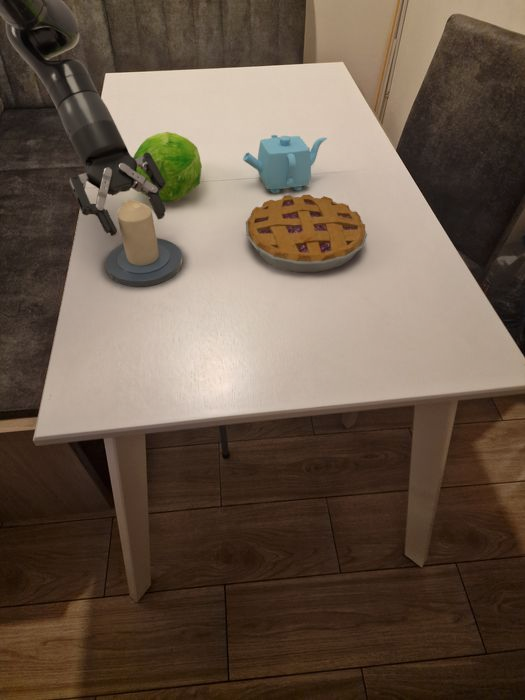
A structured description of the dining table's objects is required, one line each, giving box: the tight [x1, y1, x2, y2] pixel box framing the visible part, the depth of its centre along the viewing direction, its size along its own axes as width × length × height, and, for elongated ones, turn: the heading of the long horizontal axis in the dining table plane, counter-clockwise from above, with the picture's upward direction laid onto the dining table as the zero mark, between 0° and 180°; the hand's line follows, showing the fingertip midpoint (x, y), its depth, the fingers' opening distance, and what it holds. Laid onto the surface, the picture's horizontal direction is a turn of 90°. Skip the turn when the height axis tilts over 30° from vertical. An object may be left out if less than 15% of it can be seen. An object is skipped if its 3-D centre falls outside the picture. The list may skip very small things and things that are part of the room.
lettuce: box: [132, 131, 203, 204], centre depth 100 cm, size 14×20×12 cm
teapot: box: [242, 134, 328, 194], centre depth 103 cm, size 18×14×10 cm
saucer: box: [105, 237, 183, 288], centre depth 84 cm, size 13×13×1 cm
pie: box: [245, 194, 368, 273], centre depth 88 cm, size 22×22×5 cm
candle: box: [116, 199, 159, 266], centre depth 80 cm, size 6×6×10 cm
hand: (138, 225), depth 79 cm, fingers open, 8 cm apart
